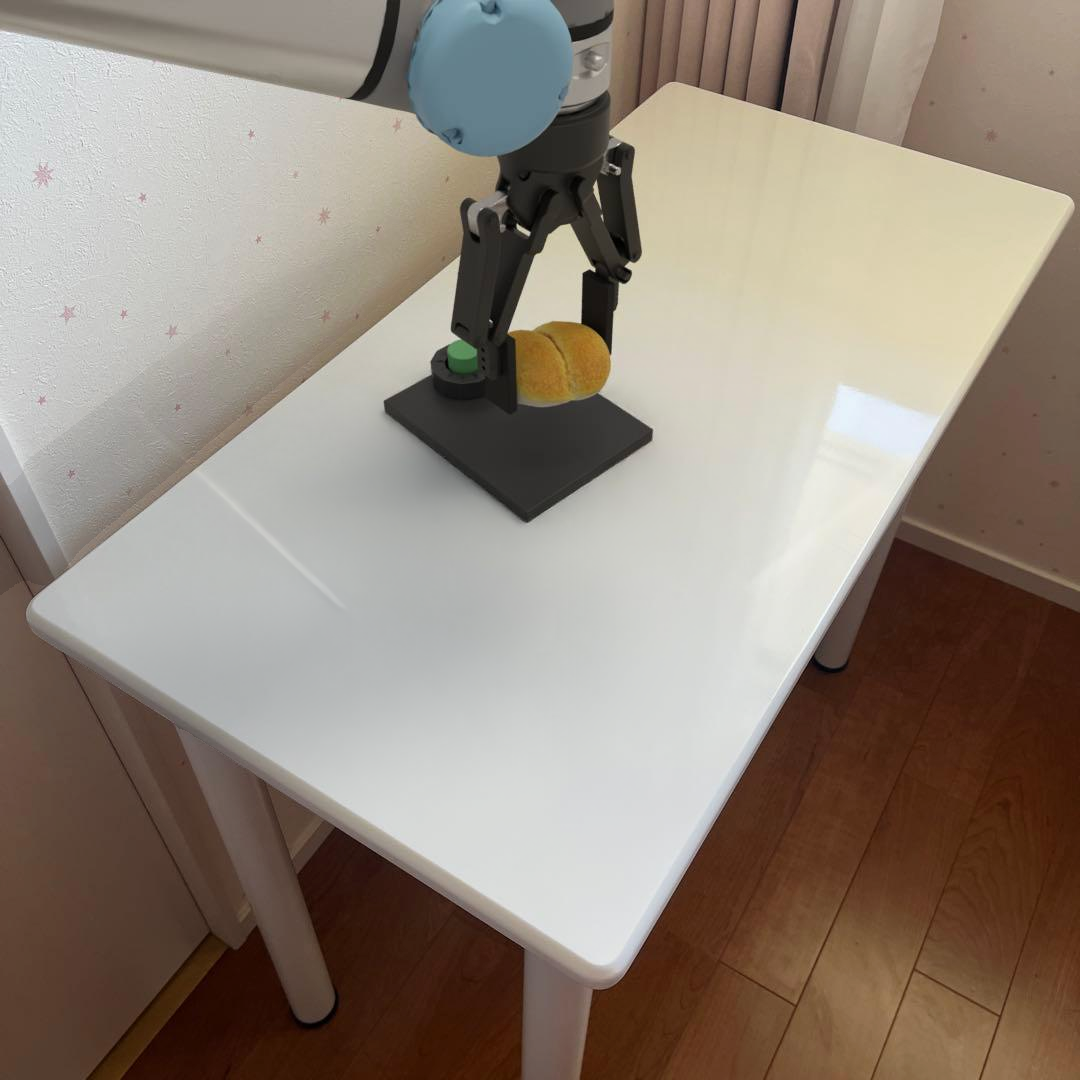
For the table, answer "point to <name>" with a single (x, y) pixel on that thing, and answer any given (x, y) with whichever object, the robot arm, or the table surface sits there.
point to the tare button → (462, 358)
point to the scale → (516, 437)
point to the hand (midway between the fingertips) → (549, 375)
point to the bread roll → (559, 363)
